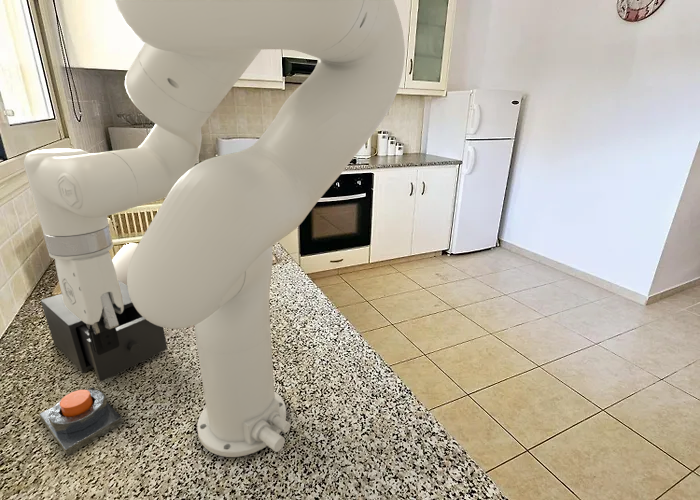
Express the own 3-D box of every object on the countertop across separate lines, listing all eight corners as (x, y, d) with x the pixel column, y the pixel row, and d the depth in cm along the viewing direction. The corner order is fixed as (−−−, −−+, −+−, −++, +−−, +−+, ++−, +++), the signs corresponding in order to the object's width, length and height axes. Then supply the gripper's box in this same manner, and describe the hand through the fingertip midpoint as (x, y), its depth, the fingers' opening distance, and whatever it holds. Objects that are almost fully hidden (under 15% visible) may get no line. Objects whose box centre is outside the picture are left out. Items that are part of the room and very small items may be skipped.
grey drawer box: (154, 339, 74) (146, 296, 70) (82, 373, 64) (68, 325, 61) (123, 317, 81) (113, 277, 78) (54, 344, 72) (40, 300, 68)
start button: (97, 406, 54) (94, 396, 53) (68, 421, 51) (65, 411, 51) (87, 395, 56) (84, 385, 55) (58, 409, 53) (55, 399, 53)
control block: (123, 423, 55) (119, 407, 53) (67, 456, 49) (61, 439, 48) (94, 392, 60) (90, 377, 59) (41, 419, 55) (35, 403, 54)
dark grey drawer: (170, 351, 69) (164, 315, 66) (103, 385, 60) (92, 345, 58) (135, 325, 77) (127, 292, 74) (70, 352, 68) (59, 315, 65)
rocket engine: (65, 278, 76) (132, 234, 91) (51, 299, 83) (116, 255, 97) (111, 316, 79) (168, 268, 93) (94, 334, 86) (150, 286, 100)
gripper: (29, 235, 54) (61, 342, 60) (70, 262, 45) (101, 382, 52) (87, 223, 59) (111, 322, 66) (133, 245, 51) (154, 356, 58)
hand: (106, 348), depth 59 cm, fingers closed
